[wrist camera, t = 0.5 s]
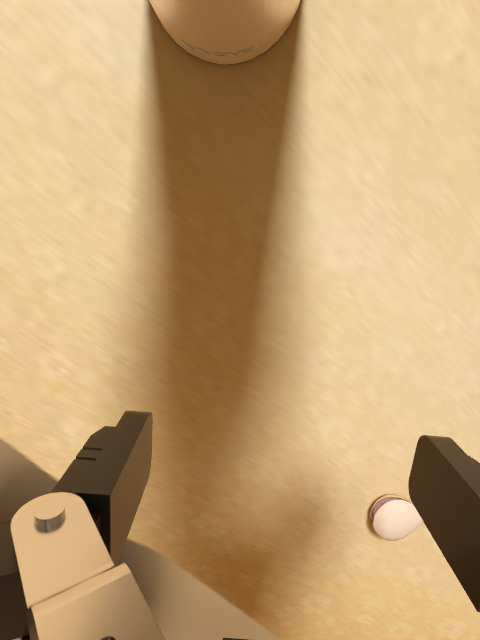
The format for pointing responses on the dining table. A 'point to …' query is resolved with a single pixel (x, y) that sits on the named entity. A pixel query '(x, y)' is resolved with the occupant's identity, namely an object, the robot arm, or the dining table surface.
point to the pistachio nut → (394, 517)
